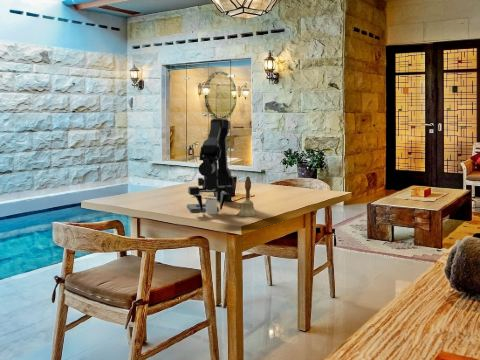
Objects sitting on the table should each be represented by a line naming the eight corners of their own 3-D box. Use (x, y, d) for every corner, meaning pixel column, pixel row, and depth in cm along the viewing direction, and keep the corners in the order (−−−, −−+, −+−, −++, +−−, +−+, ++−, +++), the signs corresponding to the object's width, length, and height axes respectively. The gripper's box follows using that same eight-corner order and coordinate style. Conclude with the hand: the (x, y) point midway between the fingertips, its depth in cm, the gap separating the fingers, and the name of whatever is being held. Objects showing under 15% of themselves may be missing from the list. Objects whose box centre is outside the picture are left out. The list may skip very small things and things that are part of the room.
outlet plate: (213, 206, 236) (213, 202, 236) (218, 211, 225) (218, 207, 224) (186, 207, 233) (186, 203, 233) (191, 212, 222) (191, 208, 221)
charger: (215, 212, 222) (214, 198, 221) (216, 213, 218) (216, 199, 218) (205, 212, 221) (205, 198, 220) (207, 214, 217) (207, 200, 217)
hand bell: (256, 212, 221) (256, 175, 219) (258, 216, 212) (258, 177, 210) (237, 212, 220) (237, 175, 218) (237, 216, 212) (237, 178, 210)
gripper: (228, 170, 228) (228, 205, 230) (185, 172, 223) (186, 207, 225) (234, 173, 217) (234, 210, 219) (189, 175, 212) (190, 212, 214)
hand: (211, 210), depth 220 cm, fingers open, 8 cm apart
